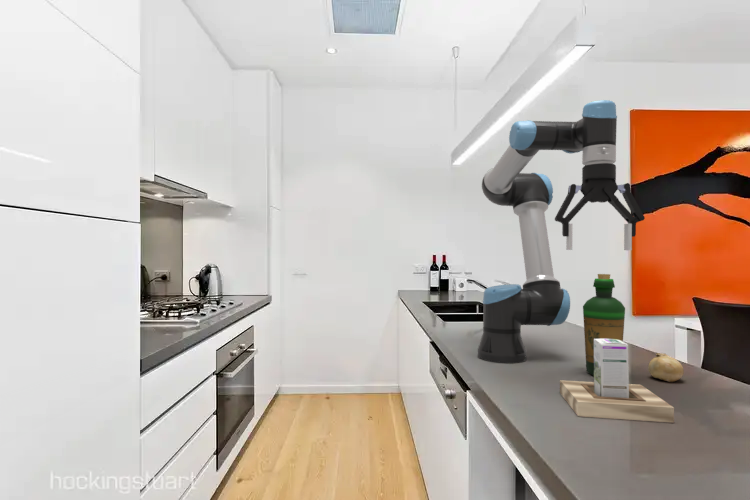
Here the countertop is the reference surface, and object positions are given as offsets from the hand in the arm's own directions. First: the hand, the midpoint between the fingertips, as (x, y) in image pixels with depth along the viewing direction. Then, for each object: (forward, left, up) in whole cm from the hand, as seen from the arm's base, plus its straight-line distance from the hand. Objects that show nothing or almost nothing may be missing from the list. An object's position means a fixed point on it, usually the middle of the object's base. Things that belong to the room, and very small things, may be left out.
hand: (598, 250), depth 112 cm
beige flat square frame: (+13, -1, -35) cm, 37 cm away
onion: (-13, +21, -35) cm, 43 cm away
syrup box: (+13, -1, -35) cm, 37 cm away
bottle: (-15, +6, -35) cm, 38 cm away
